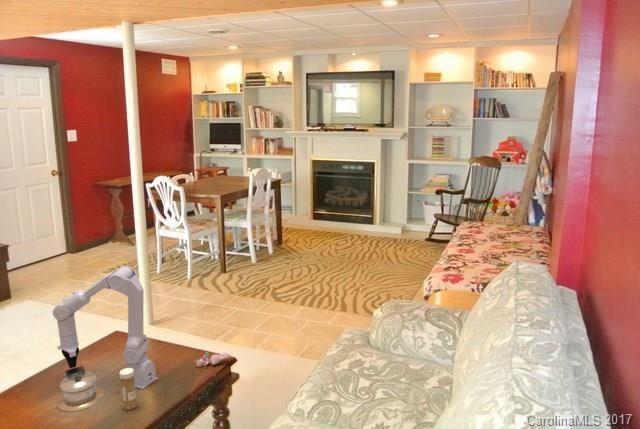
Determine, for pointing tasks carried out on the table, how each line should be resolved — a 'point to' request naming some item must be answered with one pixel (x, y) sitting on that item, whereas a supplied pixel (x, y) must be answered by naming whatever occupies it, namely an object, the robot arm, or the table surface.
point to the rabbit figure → (211, 359)
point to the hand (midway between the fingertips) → (72, 367)
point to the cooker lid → (77, 380)
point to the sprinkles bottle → (128, 388)
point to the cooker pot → (80, 399)
